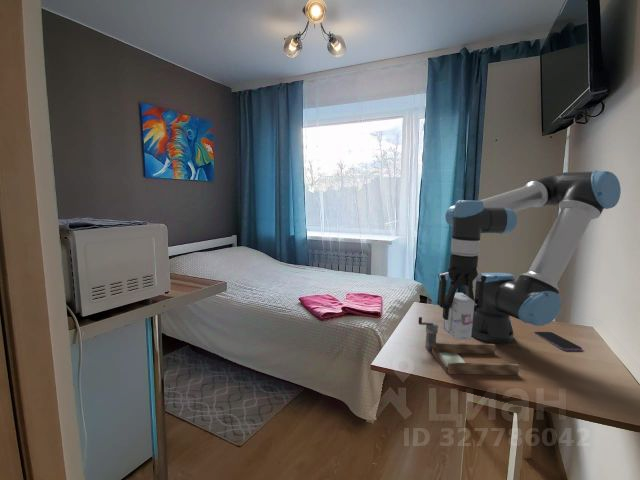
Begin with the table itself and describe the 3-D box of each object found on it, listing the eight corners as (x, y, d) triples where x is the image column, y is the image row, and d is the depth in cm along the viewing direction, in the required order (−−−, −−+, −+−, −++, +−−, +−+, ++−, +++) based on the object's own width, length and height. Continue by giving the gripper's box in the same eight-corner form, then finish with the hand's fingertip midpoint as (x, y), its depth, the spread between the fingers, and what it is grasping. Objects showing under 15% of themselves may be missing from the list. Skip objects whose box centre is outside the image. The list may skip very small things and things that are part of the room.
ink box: (442, 328, 106) (446, 291, 104) (457, 328, 106) (461, 292, 105) (454, 340, 98) (459, 300, 96) (471, 340, 98) (476, 300, 96)
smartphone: (551, 331, 128) (584, 348, 114) (550, 334, 129) (583, 351, 114) (532, 331, 128) (563, 348, 113) (532, 334, 128) (563, 351, 113)
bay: (487, 347, 114) (490, 317, 112) (518, 375, 97) (522, 339, 95) (415, 346, 114) (417, 315, 112) (432, 373, 97) (435, 337, 95)
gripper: (488, 252, 103) (480, 325, 106) (428, 250, 102) (422, 324, 105) (502, 257, 95) (493, 336, 98) (437, 255, 95) (431, 334, 98)
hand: (456, 329), depth 102 cm, fingers closed on ink box, 5 cm apart
